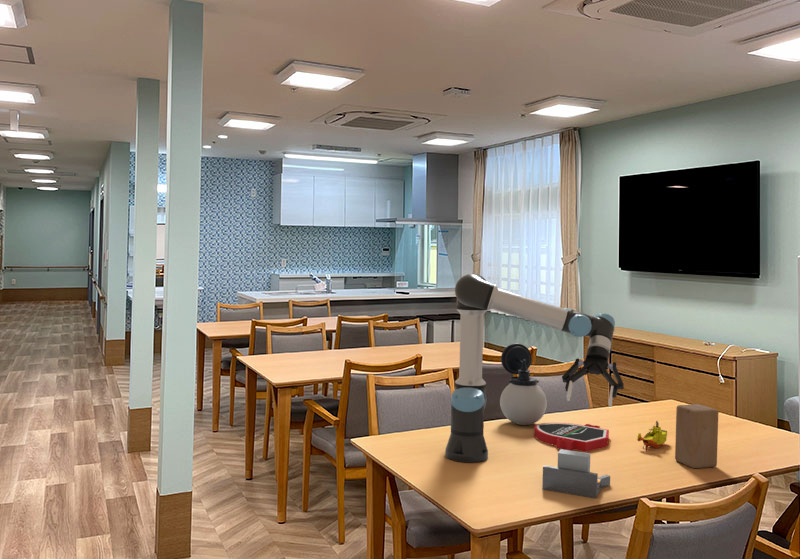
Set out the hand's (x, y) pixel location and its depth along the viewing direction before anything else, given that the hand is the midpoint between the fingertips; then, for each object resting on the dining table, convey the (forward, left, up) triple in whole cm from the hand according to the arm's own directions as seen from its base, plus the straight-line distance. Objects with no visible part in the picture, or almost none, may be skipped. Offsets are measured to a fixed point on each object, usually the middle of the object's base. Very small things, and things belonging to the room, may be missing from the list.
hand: (588, 401), depth 213 cm
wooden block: (+42, 0, -24) cm, 48 cm away
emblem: (+14, +37, -24) cm, 46 cm away
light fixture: (+6, +64, -24) cm, 68 cm away
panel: (-13, -14, -23) cm, 30 cm away
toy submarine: (+41, +21, -24) cm, 52 cm away
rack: (-12, -12, -23) cm, 29 cm away
